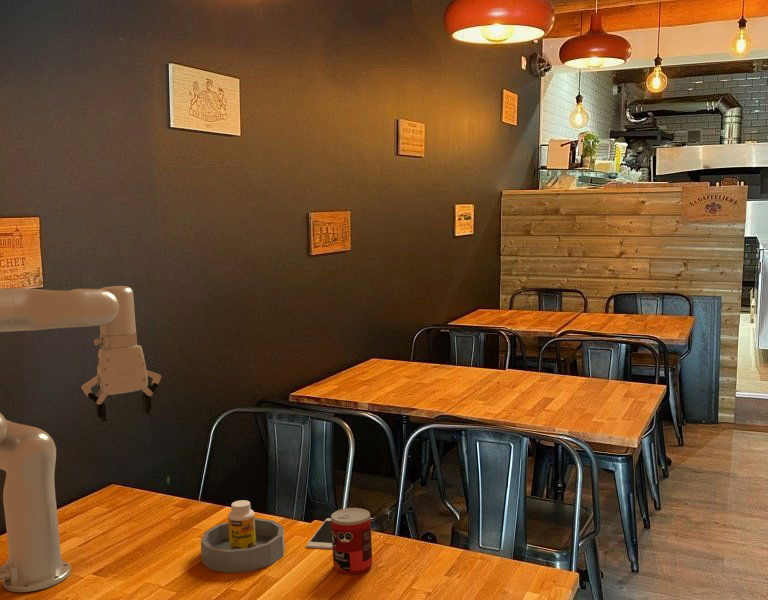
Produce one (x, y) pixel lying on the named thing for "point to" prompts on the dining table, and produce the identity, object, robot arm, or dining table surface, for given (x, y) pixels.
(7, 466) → the robot arm
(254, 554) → the bowl
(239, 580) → the dining table surface
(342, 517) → the canned food
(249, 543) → the supplement bottle
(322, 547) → the smartphone
